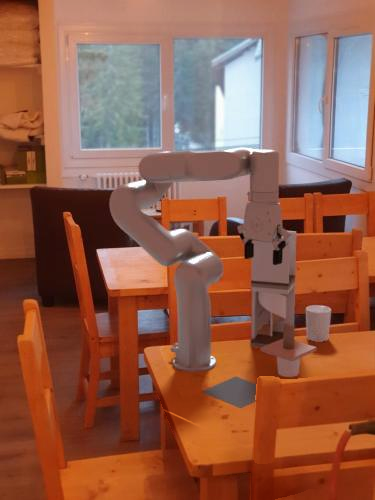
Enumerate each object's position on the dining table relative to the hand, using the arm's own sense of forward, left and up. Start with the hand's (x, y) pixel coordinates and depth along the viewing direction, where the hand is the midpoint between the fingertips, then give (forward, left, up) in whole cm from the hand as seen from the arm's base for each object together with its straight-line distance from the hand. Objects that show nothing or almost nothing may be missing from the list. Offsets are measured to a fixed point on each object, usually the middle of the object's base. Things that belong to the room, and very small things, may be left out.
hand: (262, 261), depth 188 cm
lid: (+4, +7, -26) cm, 27 cm away
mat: (+2, -12, -33) cm, 35 cm away
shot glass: (+4, +7, -34) cm, 34 cm away
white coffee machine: (-15, +24, -34) cm, 44 cm away
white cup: (-7, +37, -34) cm, 50 cm away
